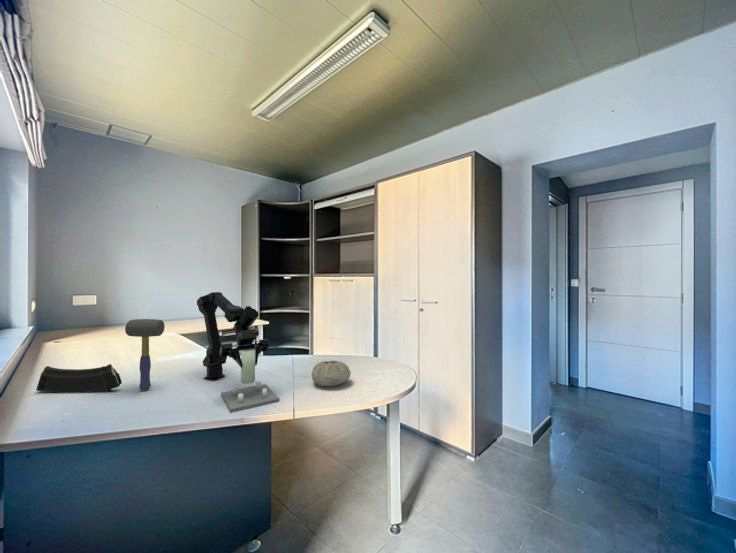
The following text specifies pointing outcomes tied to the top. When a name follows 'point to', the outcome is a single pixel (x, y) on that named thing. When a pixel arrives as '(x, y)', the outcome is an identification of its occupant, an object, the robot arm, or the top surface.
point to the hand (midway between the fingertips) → (249, 366)
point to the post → (248, 366)
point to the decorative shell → (330, 373)
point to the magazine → (78, 380)
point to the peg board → (248, 397)
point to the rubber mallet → (145, 344)
